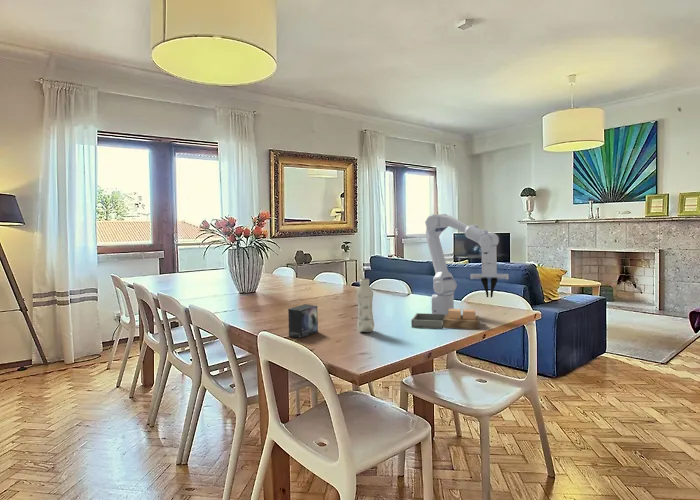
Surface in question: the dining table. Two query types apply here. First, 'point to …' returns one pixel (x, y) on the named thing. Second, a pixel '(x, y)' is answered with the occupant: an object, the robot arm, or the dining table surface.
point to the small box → (303, 320)
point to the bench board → (461, 323)
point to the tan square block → (454, 314)
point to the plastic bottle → (365, 307)
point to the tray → (428, 320)
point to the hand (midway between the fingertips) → (489, 296)
